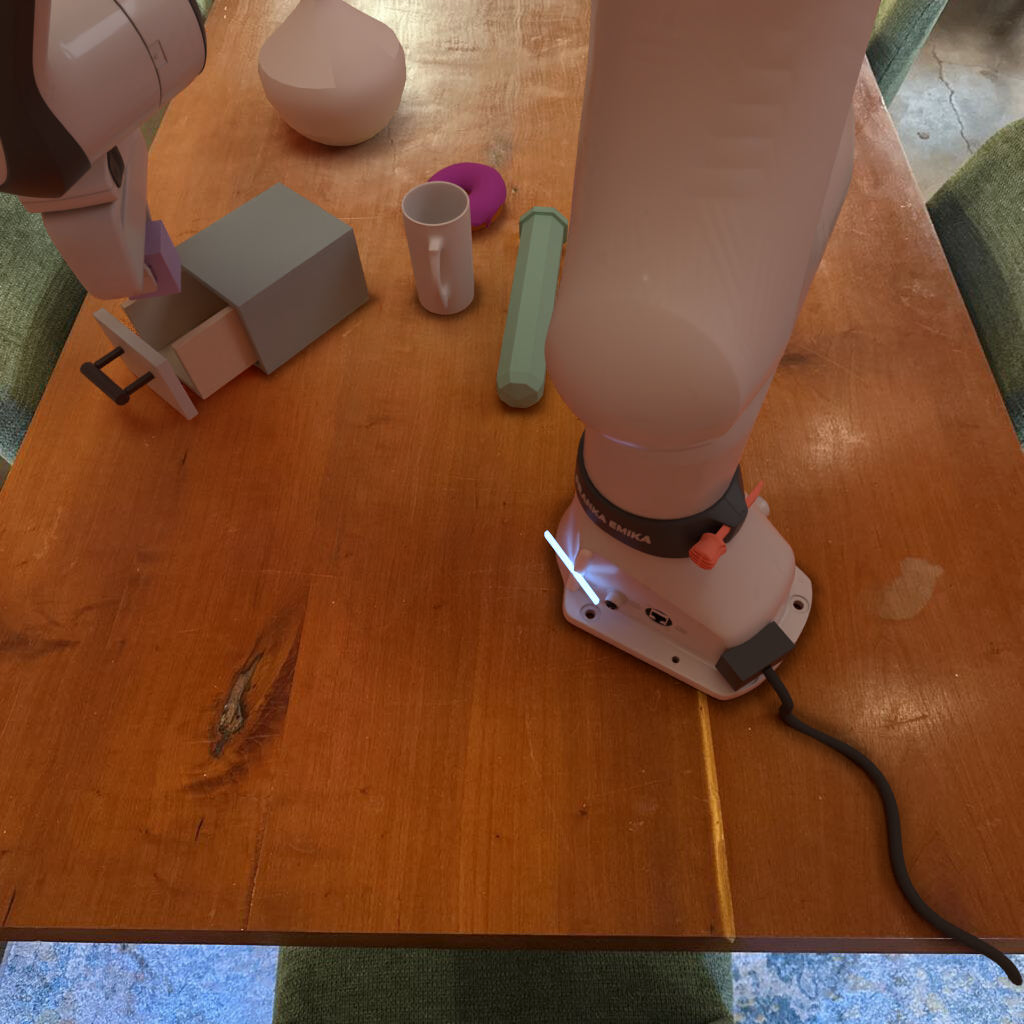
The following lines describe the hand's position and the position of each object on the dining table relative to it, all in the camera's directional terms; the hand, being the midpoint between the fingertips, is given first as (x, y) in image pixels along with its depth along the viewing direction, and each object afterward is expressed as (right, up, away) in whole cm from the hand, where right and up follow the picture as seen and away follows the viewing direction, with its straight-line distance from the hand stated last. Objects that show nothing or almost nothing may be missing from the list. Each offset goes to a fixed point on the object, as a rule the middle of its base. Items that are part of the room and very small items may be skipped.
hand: (149, 265), depth 69 cm
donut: (+27, +14, +24) cm, 39 cm away
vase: (+10, +30, +34) cm, 46 cm away
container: (+35, -2, +14) cm, 38 cm away
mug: (+25, +1, +16) cm, 30 cm away
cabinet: (+8, 0, +16) cm, 18 cm away
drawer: (0, -7, +10) cm, 13 cm away
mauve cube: (0, -1, +1) cm, 2 cm away
